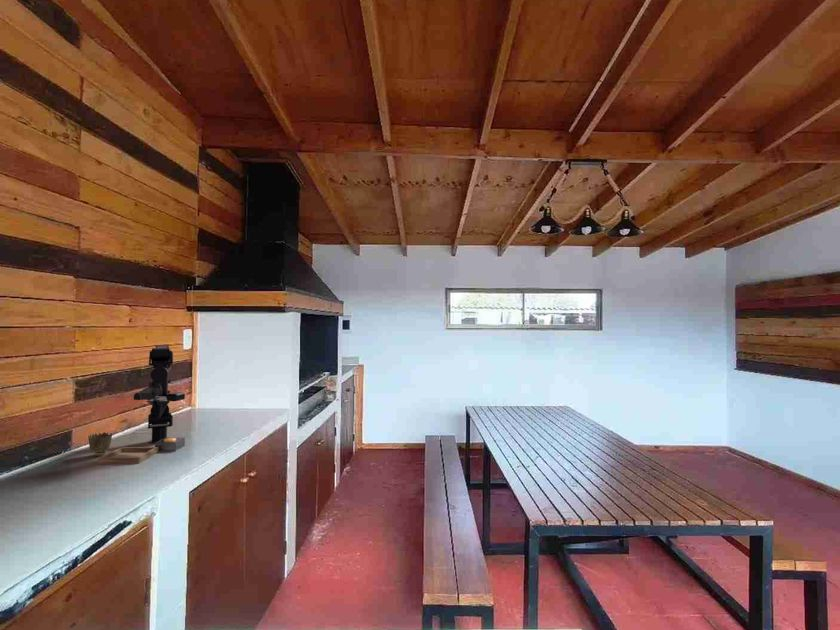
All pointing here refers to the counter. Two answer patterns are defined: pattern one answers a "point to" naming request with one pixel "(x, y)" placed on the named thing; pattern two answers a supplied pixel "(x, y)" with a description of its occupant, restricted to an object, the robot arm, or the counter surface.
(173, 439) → the button
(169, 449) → the panel
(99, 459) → the wooden tray
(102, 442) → the ornate lamp shade
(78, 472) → the counter surface
